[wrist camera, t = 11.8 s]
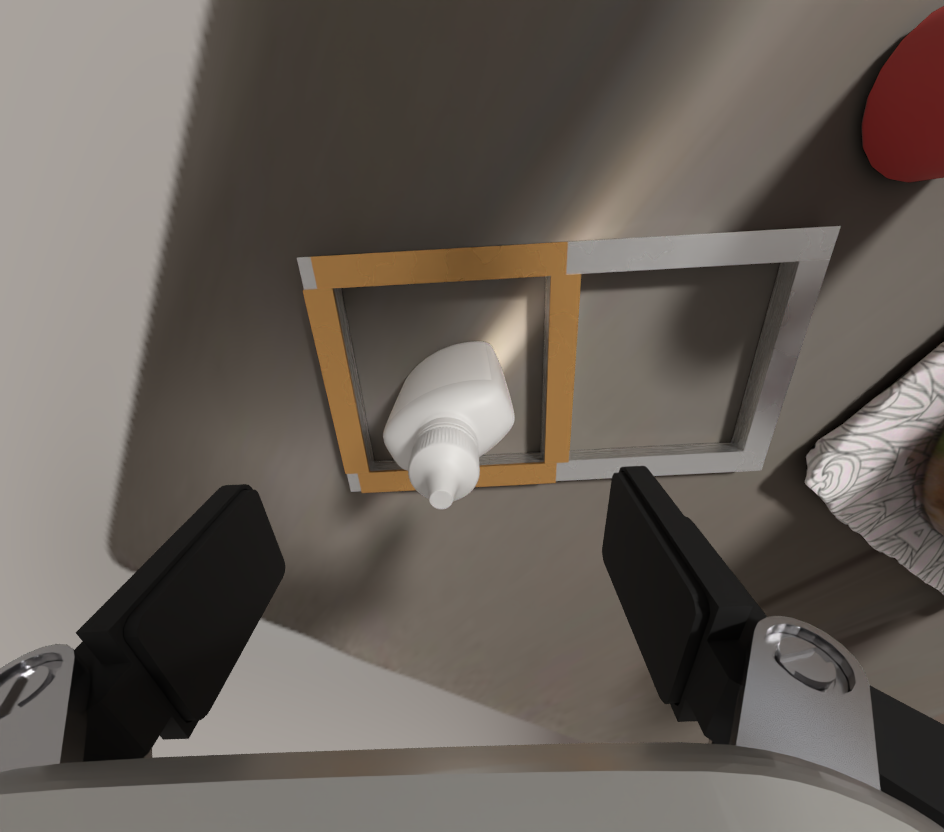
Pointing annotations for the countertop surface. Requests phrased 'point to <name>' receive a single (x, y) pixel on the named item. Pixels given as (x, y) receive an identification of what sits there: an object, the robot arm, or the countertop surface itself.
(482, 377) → the eye dropper bottle
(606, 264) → the rail
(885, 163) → the beer can
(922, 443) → the cookie jar
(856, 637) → the countertop surface
